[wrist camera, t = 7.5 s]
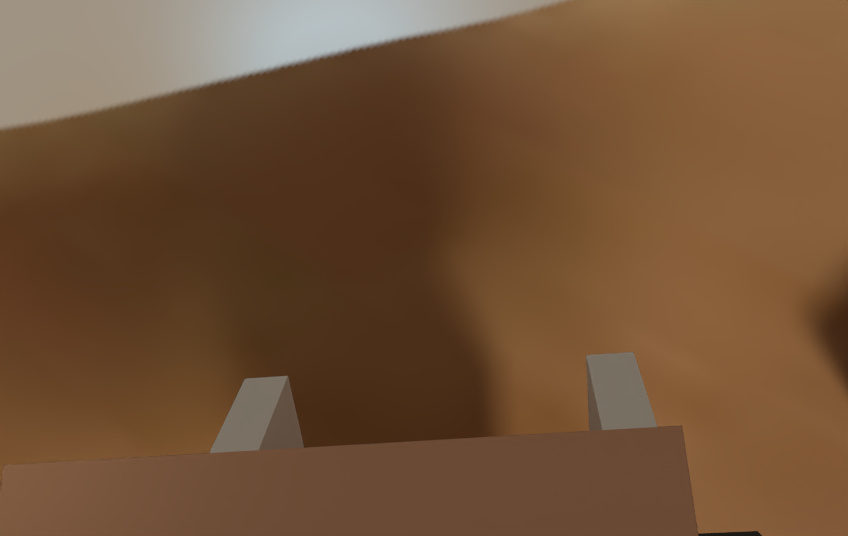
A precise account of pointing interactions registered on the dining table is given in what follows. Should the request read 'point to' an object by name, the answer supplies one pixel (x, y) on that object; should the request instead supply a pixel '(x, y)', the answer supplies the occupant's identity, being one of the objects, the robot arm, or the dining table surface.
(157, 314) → the dining table surface
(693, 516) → the cherry block
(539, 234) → the dining table surface
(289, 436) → the robot arm
